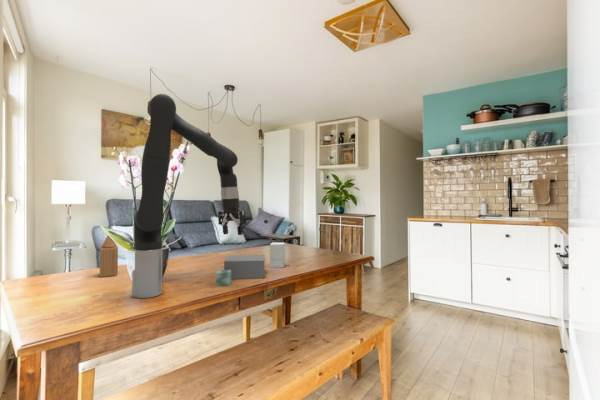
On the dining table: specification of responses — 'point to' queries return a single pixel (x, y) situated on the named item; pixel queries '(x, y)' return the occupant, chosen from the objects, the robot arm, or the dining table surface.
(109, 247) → the decorative item
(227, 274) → the teal block
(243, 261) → the charcoal stand
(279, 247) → the supplement box
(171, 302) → the dining table surface
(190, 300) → the dining table surface
